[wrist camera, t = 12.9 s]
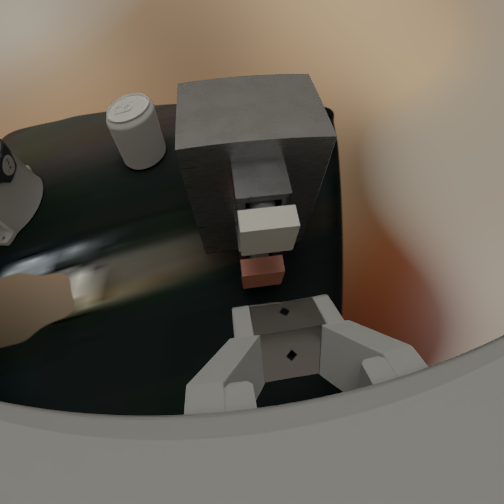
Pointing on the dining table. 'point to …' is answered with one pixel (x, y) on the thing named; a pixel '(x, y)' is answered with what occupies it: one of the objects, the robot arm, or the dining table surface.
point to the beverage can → (136, 130)
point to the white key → (267, 228)
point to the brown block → (262, 270)
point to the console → (250, 149)
